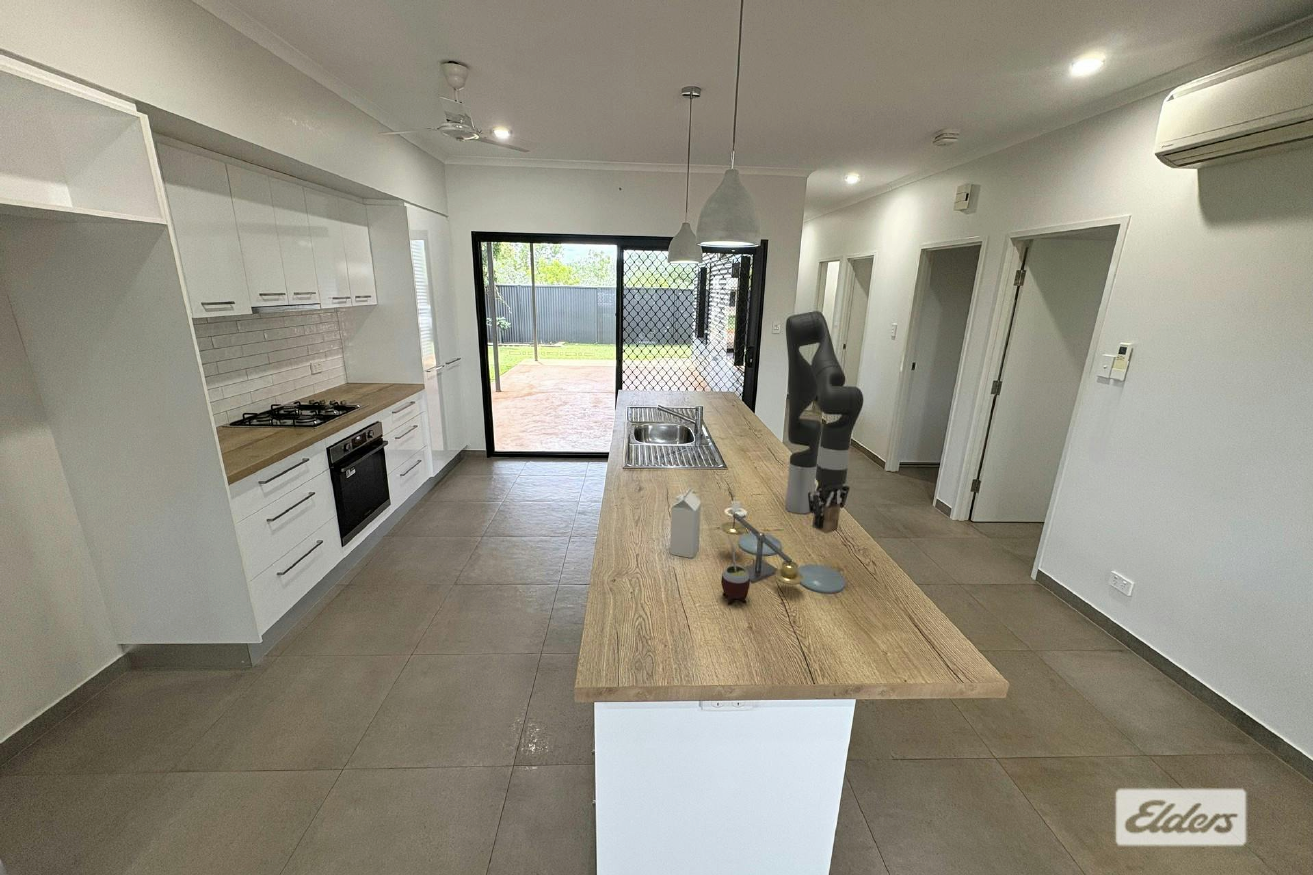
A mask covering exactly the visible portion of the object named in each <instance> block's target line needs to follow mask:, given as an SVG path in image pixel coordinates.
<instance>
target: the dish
mask: <svg viewBox="0 0 1313 875" xmlns="http://www.w3.org/2000/svg"><path fill="white" fill-rule="evenodd" d="M798 572H800V573H801V574H802V576H803V581H802V582H801V583H800V584H799V585H800V586H802V587H803V588H805V589H807V590H808V591H811V592H815V593H819V594H820V593H821V594H828V595H829V594H837V593H840V592H842V591H843V590H845V587H846V582H847V581H846V580H847V579H846V578H845V576H844V575H843V574H842V573H841V572H839V571H838V570H836V569H835V568H832V567H829V566H826V565H821V564H815V563H814V564H805V565H802V566H798Z"/></svg>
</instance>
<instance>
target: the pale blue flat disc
mask: <svg viewBox="0 0 1313 875" xmlns="http://www.w3.org/2000/svg"><path fill="white" fill-rule="evenodd" d="M764 534H765V537H766V538H767V539H768V540H769V541H770V542H772V543H773V544H774V545H775V546H776V547H778V548H779V549H780V550H781V551H782V542H781V541H780V540H779V539H778V537H775V536H774V535H770V534H768V533H767V534H766V533H764ZM757 541H758V540H757V538H756V536H755V535H754V534H753V533H752V532H749V533H743V534H741V535H740V537H739V538H738V541H737V542H738V543H737V544H738V547H739V548H740V549H741V550H742V551H744V552H745V553H748V554H751V555H755V556H756V552H757ZM773 555H774V556H775V555H777V554H776V553H775V552H774V551H773V550H772V549H771V548H769V547H768V546H767V545H766V544H765V543H763V553H762V557H769V556H773Z"/></svg>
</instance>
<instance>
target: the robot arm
mask: <svg viewBox="0 0 1313 875" xmlns="http://www.w3.org/2000/svg"><path fill="white" fill-rule="evenodd" d="M785 339H786V350H787V351H786V352H787V360H788V362H787V363H788V364H787V366H788V367H787V368H788V369H787V372H788V374H787V379H788V380H787V389H788V391H787V392H788V406H789V408H788V427H787V438H788V441H789V443H790V444H793V445H798V446H807V447H808V448H807V449H805V450H802V451H796V452H793V453H791V455H790V457H789V466H788V476H787V484H786V485H787V487H786V494H785V495H786V496H785V505H784V507H785V509H786V511H789V512H791V513H793V514H800V515H802V514H804V515H805V514H809V513H812V514H813V515H814V514H815V521H814V525H815V527H816V528H819V529H822V528H823V522H824V514H825V509H826V508H827V507H829V504H830V502H832V503H835V504H837V505H838V504H839V505H840V509H844V507H845V504H846V501H847V498H848V495H849V492H850V489H851V488H850V486H847V485H845V484H846V483H847V477H848V470H849V469H848V468H849V461H850V446H851V438H852V433H853V430H854V428H855V425H856V422H857V421H858V418H859V416H860V414H861V411H862V409H863V405H864V394H863V392H862V391H861V389H860V388H859V387H857V386H851V385H850V386H849V385H847V386H846V385H845V383H846V374H845V373H844V371H843V369H842V366H841V365H840V362H839V361H838V358H837V354H836V353H835V349H834V345H833V340H832V337H831V334H830V330H829V326H828V322H827V320H826V317H825V316H824V315H823V313H822V312H821V311H819V310H817V311H815V310H814V311H813V310H812V311H809V312H802V313H797V314H792V315H790V316H788V317H787V318H786V321H785ZM816 344H818V347H817V349H816V351H815V353H814V356H813V357H812V360H811V364H810V363H809V362H808V360H806V359H805V357H804V356H803V354H802V353H801V351H800V349H801V347H804V346H808V345H809V346H811V345H816ZM844 385H845V386H844ZM816 398H817V405H818V409H819V410H820V412H822V413H824V414H825V415H831V416H832V415H837V416H839V418H838V419H837V420H835V421H832V422H831V421H830V422H827V423H825V424H824V425H823V426H822V422H821V421H820V420H816V419H811V418H810V419H809V418H801V415H802V414H803V413H804V411H805V410H806V409H808V407H810V405H811V404H813V402H814V401H815V400H816ZM815 481H816V482H817V485H816V482H815ZM820 501H823V502H825V504H824V503H821V502H820ZM820 506H822V509H821V510H820ZM814 507H815V509H814Z"/></svg>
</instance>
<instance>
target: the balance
mask: <svg viewBox="0 0 1313 875" xmlns="http://www.w3.org/2000/svg"><path fill="white" fill-rule="evenodd" d="M732 515H733V516H732V518H733V520H732V521H727V522H724V523H722V525H721V528H720V529H721V531H722V532H724V533H725V534H729V535H734V536H735V535H738V536H739V535H744V534H746V531H747V530H748V531H749V532H750V533H753V534H754V535H755V536H756V538H757V540H758V541H757V552H756V555H755V563H753V564H748V565H746V566H745V567H744V566H743V568H744V569H745V570H746V571H747V572H748V574H749V578H750V583H751V584H755V583H756V582H759V581H762V580H763V579H766V578H769V577H772V576H774V578H775V579H776V580H777V581H778V582H780V583H782V584H785V585H790V586H792V585H793V586H796V585H800V583H801V582H802V581H803V576H802V574H801V573H800V572H798V568H799V564H798V563H796V562H794V561H793V559H792V558H791V557H790V556H788V555H787V554H786V553H785V552H784V551H782V549H781V550H780V549H779V548H778V547H776V546H775V545H774V544H773V543H772V542H770V541H769V540H768V539H767V538H766V537H765V534H766V533H763V532H760V531H759V530H757V529H756V528H755V527H753V526H752V524H750V523H749V522H748V521H746V520H745V519H744V518H743V517H740V516H739V515H738V514H737V513H733V514H732ZM763 543H765V544H766V545H767V546H768V547H769V548H771V549H772V550H773V551H774V552H775V553H776V554H775V555H777V556H778V557H780V558H781V559H782V560H783V561H782V563H781V568H776V567H775V566H773V565H772V564H770V563H768V562H767V561H765V560H763V556H762V553H763Z"/></svg>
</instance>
